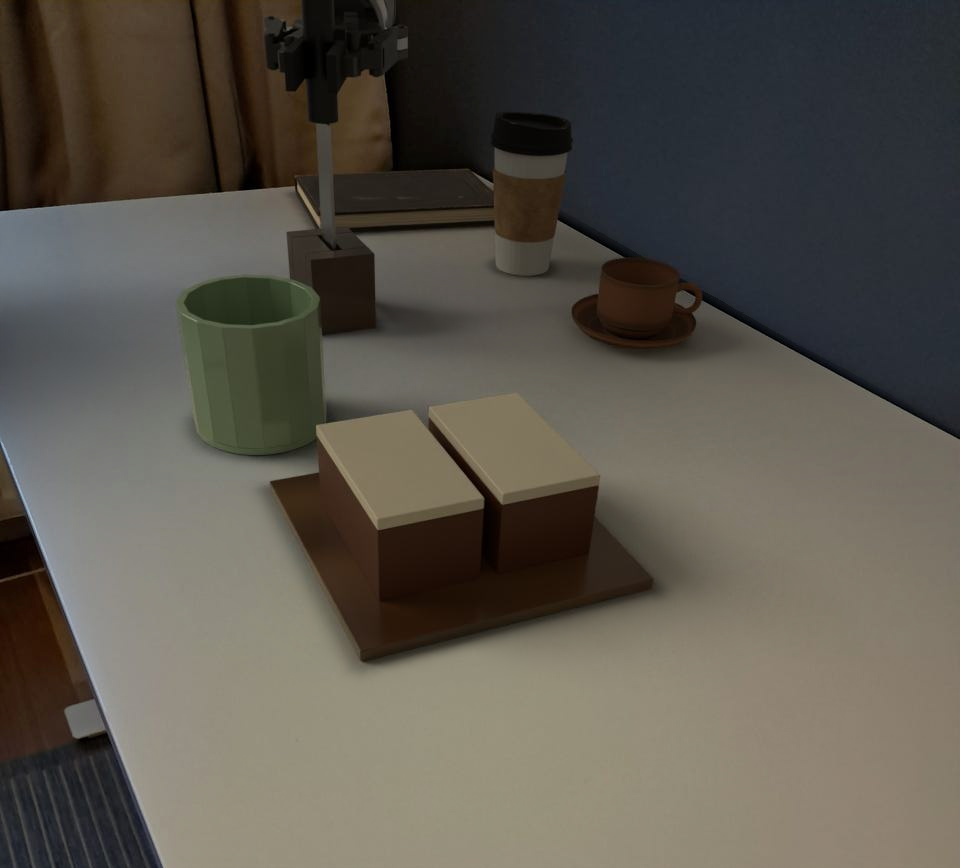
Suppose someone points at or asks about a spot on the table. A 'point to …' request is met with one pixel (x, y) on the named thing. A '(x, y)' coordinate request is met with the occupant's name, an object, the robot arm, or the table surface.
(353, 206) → the hardcover book
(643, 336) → the cup and saucer
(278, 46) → the robot arm
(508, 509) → the cake slice
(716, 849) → the table surface
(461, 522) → the block
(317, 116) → the knife
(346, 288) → the knife block
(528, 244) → the coffee cup
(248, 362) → the cup
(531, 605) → the cake board
